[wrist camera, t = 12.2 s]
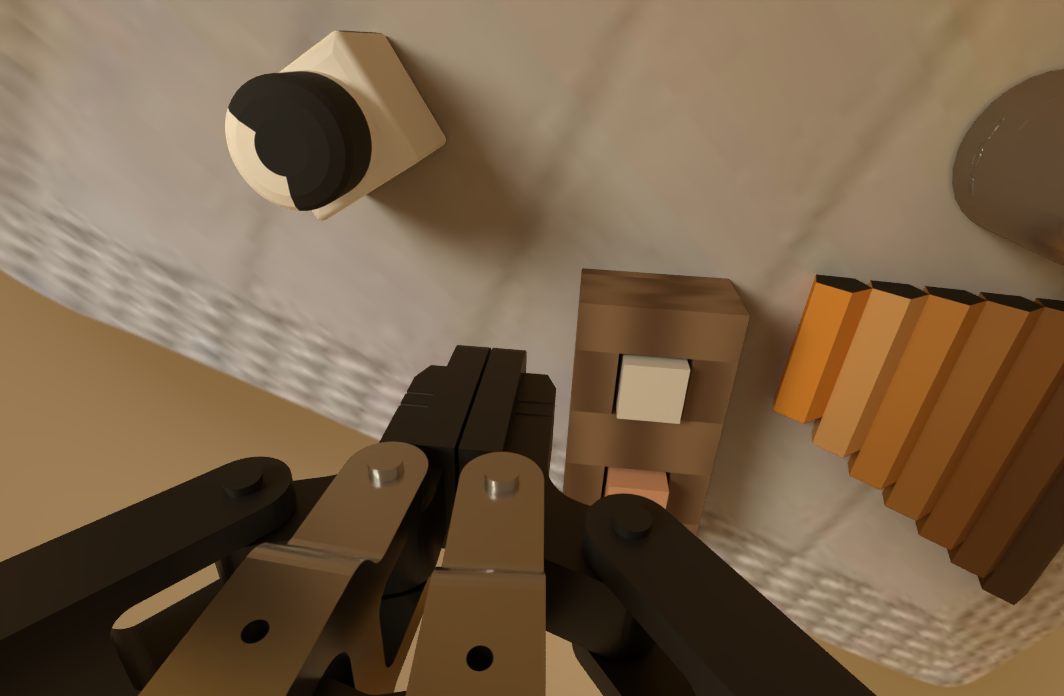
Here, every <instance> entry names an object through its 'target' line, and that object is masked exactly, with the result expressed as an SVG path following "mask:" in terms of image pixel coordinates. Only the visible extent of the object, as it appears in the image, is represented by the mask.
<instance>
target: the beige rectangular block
mask: <svg viewBox="0 0 1064 696" xmlns="http://www.w3.org/2000/svg"><path fill="white" fill-rule="evenodd" d="M689 374H690V368H689V364H688V361H687V359H682V358H669V357H657V356H645V355H633V354H620V353H619V359H618V367H617V374H616V382H615V395H616V412H617V418H618V419H629V420H640V421H652V422H663V423H674V424H680V419H681V414H682V409H683V404H684V399H685V394H686V389H687V384H688V379H689Z"/></svg>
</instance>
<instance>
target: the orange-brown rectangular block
mask: <svg viewBox="0 0 1064 696" xmlns="http://www.w3.org/2000/svg"><path fill="white" fill-rule="evenodd" d="M602 485H603V497H605V496H608V495H612V494H620V493H626V494H634V495H639V496H643V497H646V498H648V499H650V500H653V501H654V502H656V503H658V504H659V505H661V506H662V507H663V508H665V509H666V505H667V500H668V495H669V489H668V483H667V477H666V472H659V471H649V470H638V469H628V468H617V467H606V466H605V468H604V476H603V484H602Z"/></svg>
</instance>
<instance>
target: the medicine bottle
mask: <svg viewBox="0 0 1064 696" xmlns="http://www.w3.org/2000/svg"><path fill="white" fill-rule="evenodd" d="M225 132H226V140H227V145H228V149H229V152H230V155H231V157H232V160H233V162H234V164H235V166H236V168H237V169H238V171H239V173H240V174H241V175H242V177H243V178H244V180H245V181H246V182H247V183H248V184H249V185H250V186H251V187H252V188H253V189H254V190H255V191H256V192H257V193H258V194H260V195H261V196H262V197H264V198H265V199H267V200H268V201H270V202H272V203H274V204H276V205H278V206H281V207H284V208H287V209H291V210H298V211H309V210H311V211H312V212H313V213H314V215H315V216H316V217H317V218H318V219H319V220H326V219H328V218H329V217H331V216H333V215H334V214H336V213H337V212H339V211H341V210H342V209H344V208H345V207H347V206H349V205H350V204H352V203H353V202H355V201H357V200H358V199H360V198H361V197H363V196H365V195H366V194H368V193H369V192H371V191H373V190H374V189H376V188H377V187H379V186H381V185H382V184H384V183H385V182H387V181H389V180H390V179H392V178H393V177H395V176H397V175H398V174H400V173H401V172H403V171H405V170H406V169H408V168H409V167H411V166H413V165H414V164H416V163H417V162H419V161H420V160H422V159H423V158H425V157H427V156H428V155H430V154H431V153H433V152H434V151H436V150H437V149H439V148H440V147H442V146H443V145H444V144H445V143H446V138H445V135H444V134H443V132H442V130H441V129H440V127H439V125H438V124H437V122H436V120H435V119H434V117H433V115H432V114H431V112H430V110H429V109H428V107H427V105H426V104H425V102H424V100H423V99H422V97H421V95H420V94H419V92H418V90H417V89H416V87H415V85H414V83H413V82H412V80H411V78H410V77H409V75H408V73H407V72H406V70H405V68H404V67H403V65H402V63H401V62H400V60H399V58H398V57H397V55H396V53H395V52H394V50H393V48H392V47H391V45H390V43H389V42H388V40H387V38H386V37H385V36H384V34H382V33H372V32H355V31H337V30H336V31H333V32H332V33H330V34H329V35H328V36H326V37H325V38H324V39H322V40H321V41H320V42H318V43H317V44H316V45H315V46H313V47H312V48H311V49H309V50H308V51H307V52H305V53H304V54H303V55H301V56H300V57H299V58H297V59H296V60H295V61H293V62H292V63H291V64H289V65H288V66H287V67H285V68H284V69H283V70H281V71H280V72H279V73H271V74H264V75H261V76H257V77H255V78H253V79H251V80H249V81H247V82H246V83H245V84H244V85H242V86H241V87H240V88H239V89H238V91H237V92H236V93H235V95H234V96H233V98H232V99H231V102H230V104H229V107H228V110H227V114H226V122H225Z"/></svg>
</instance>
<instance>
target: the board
mask: <svg viewBox="0 0 1064 696" xmlns="http://www.w3.org/2000/svg"><path fill="white" fill-rule="evenodd" d="M749 318H750V315H749V313H748V311H747V310H746V308H745V306H744V304H743V303H742V301H741V299H740V297H739V296H738V294H737V292H736V290H735V289H734V287H733V285H732V283H731V282H730V280H729V279H721V278H707V277H693V276H680V275H666V274H652V273H638V272H624V271H610V270H596V269H582V274H581V286H580V298H579V309H578V321H577V333H576V344H575V356H574V368H573V379H572V391H571V402H570V414H569V426H568V437H567V449H566V461H565V472H564V484H563V494H564V495H566V496H568V497H570V498H571V499H574V500H576V501H578V502H581V503H584V504H587V505H589V506H591V505H592V504H593V503H594V502H596V501H597V500H599V499H600V498H602V497H603V485H602V484H603V476H604V468H605V466H606V467H617V468H628V469H638V470H649V471H659V472H666V477H667V483H668V489H669V495H668V500H667V505H666V510H667V511H668V512H669V513H670V514H672V515H673V516H674V517H675V518H676V519H677V520H678V521H679V522H681V523H682V524H683V525H684V526H685V527H686V528H687V529H688V530H690V531H691V532H692V533H693V534H694V535H695V536H697V532H698V528H699V523H700V519H701V515H702V511H703V507H704V503H705V499H706V495H707V491H708V486H709V482H710V478H711V474H712V470H713V466H714V462H715V458H716V454H717V450H718V445H719V441H720V437H721V433H722V429H723V425H724V421H725V417H726V413H727V408H728V404H729V400H730V396H731V392H732V388H733V384H734V380H735V376H736V371H737V367H738V363H739V359H740V355H741V351H742V347H743V343H744V339H745V335H746V330H747V326H748V322H749ZM619 353H620V354H633V355H645V356H657V357H669V358H682V359H687V361H688V364H689V368H690V374H689V379H688V384H687V389H686V394H685V399H684V404H683V409H682V414H681V419H680V424H674V423H663V422H652V421H640V420H629V419H618V418H617V412H616V395H615V382H616V374H617V367H618V359H619Z"/></svg>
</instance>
